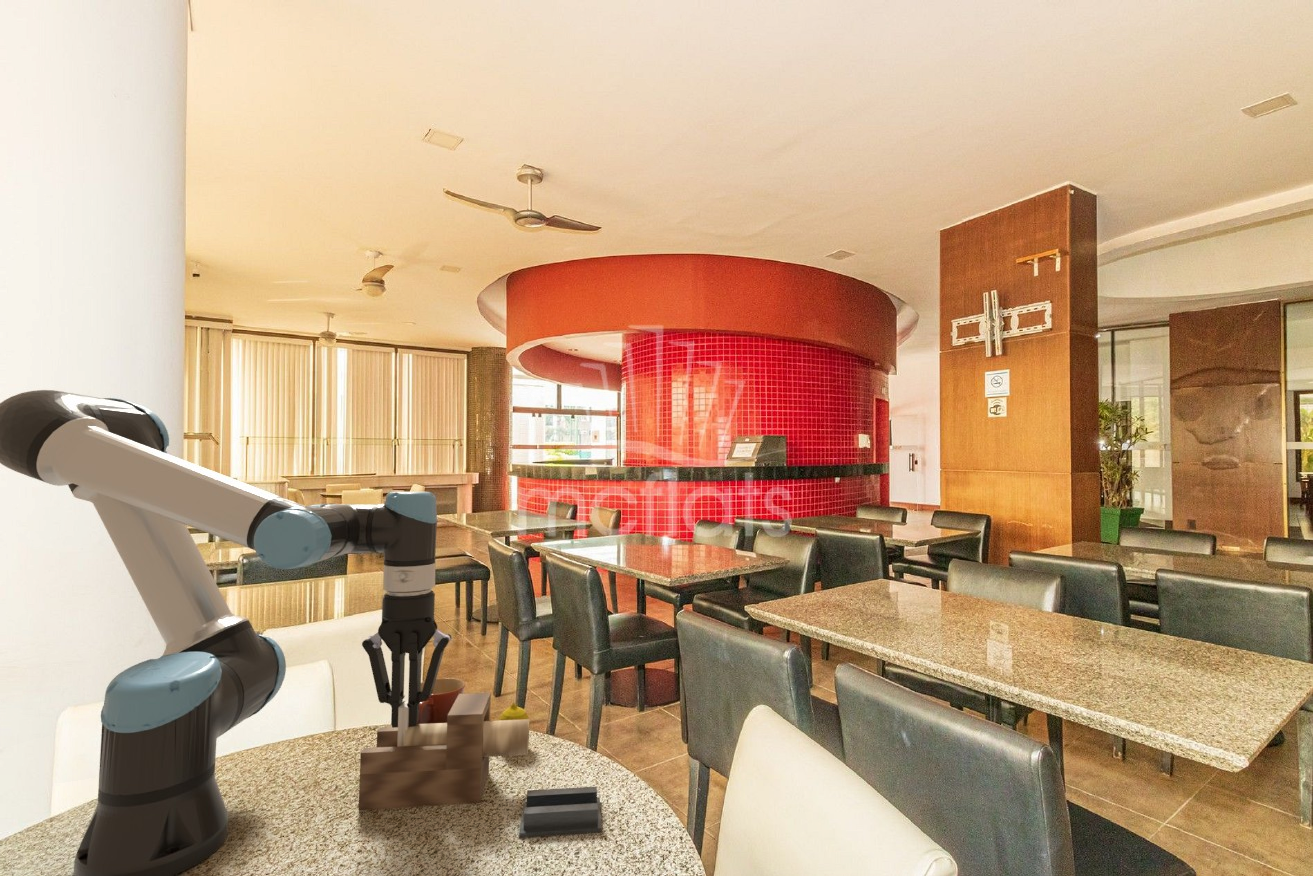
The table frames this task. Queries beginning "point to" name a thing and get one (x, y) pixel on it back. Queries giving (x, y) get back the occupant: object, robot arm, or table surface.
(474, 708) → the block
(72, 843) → the table surface
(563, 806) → the cradle
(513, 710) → the fruit
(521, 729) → the axle
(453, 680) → the mug
